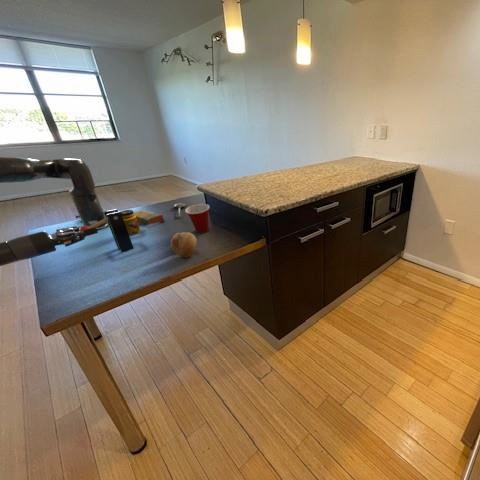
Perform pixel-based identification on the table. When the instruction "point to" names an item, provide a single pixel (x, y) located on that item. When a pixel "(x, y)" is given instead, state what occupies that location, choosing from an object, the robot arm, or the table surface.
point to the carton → (148, 217)
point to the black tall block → (119, 230)
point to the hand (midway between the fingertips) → (95, 228)
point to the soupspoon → (179, 208)
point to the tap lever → (94, 224)
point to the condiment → (130, 222)
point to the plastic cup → (199, 217)
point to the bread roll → (183, 244)
